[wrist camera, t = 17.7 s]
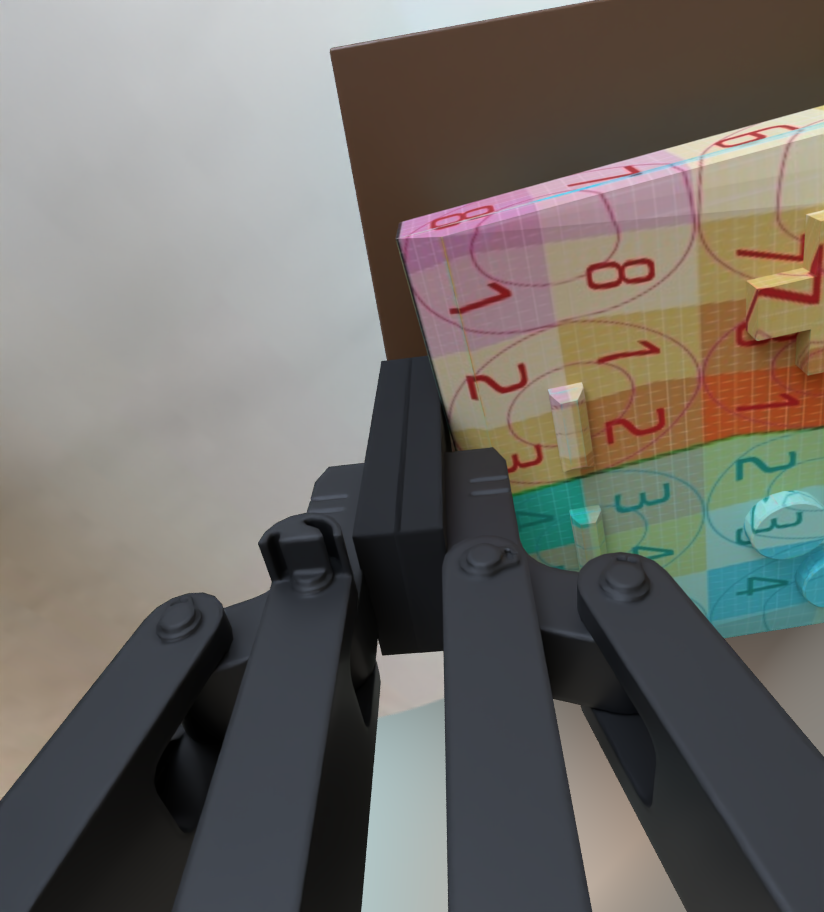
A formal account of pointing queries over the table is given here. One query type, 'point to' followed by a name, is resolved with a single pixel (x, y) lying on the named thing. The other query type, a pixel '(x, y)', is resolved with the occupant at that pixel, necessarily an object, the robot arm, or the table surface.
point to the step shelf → (553, 106)
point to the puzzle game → (649, 362)
